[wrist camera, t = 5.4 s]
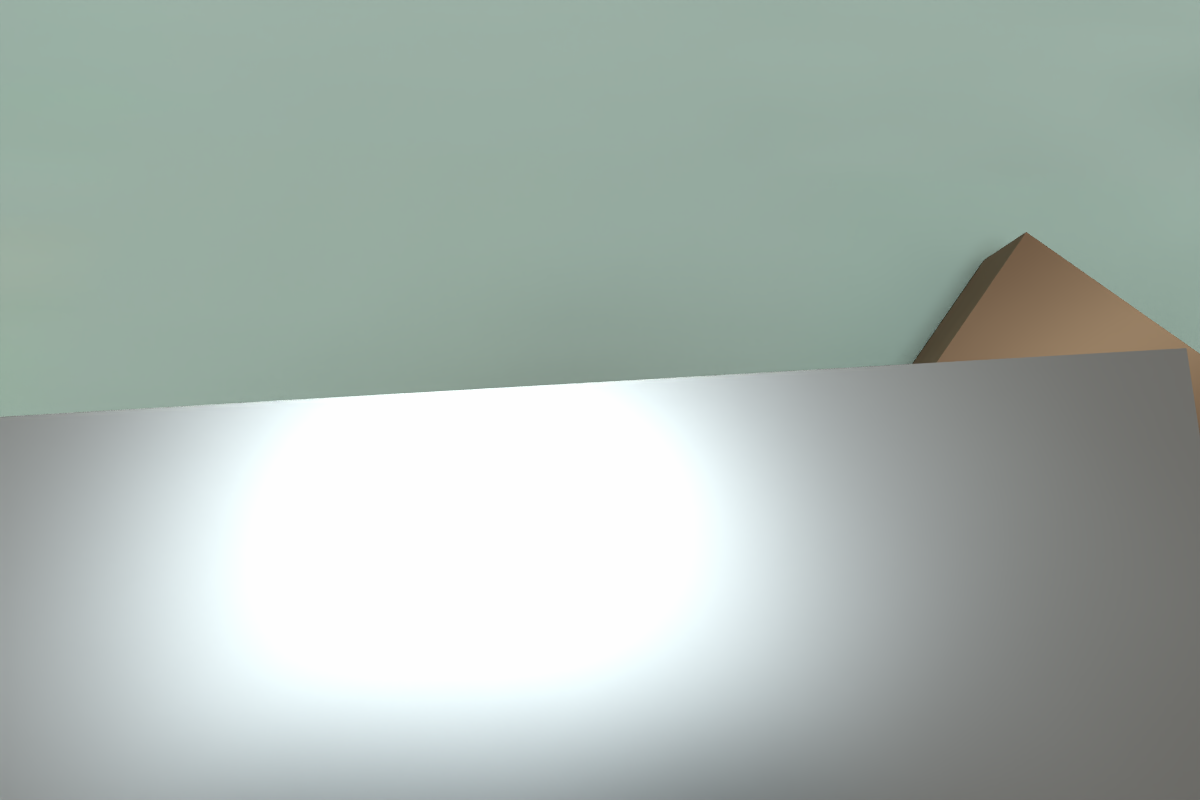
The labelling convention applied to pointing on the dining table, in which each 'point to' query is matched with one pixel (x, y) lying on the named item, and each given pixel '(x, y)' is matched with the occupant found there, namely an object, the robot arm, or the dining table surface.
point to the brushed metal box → (615, 590)
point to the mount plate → (1043, 314)
